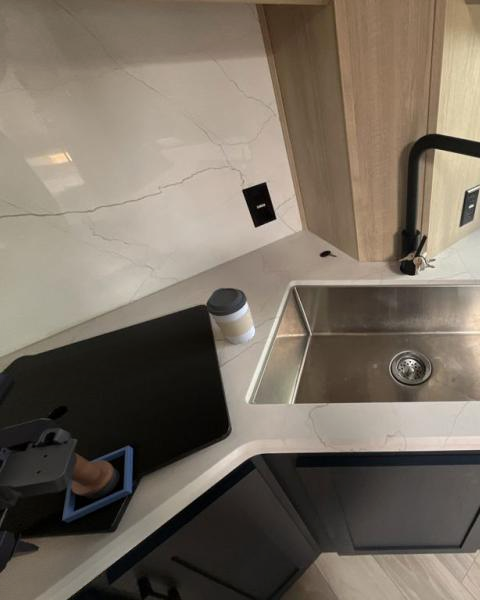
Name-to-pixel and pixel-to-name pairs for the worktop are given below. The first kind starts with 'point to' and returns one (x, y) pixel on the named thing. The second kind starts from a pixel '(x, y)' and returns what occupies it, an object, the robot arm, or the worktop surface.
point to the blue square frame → (70, 497)
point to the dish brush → (93, 478)
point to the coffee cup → (231, 314)
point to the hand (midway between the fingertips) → (47, 513)
